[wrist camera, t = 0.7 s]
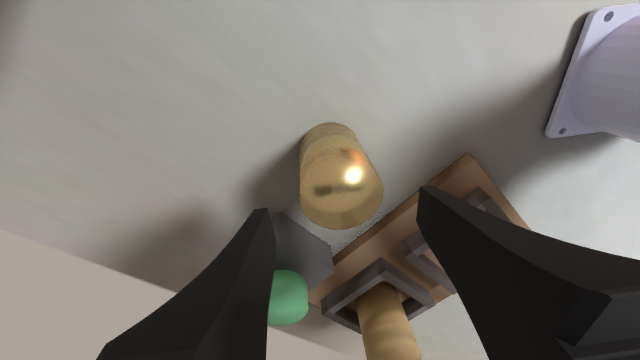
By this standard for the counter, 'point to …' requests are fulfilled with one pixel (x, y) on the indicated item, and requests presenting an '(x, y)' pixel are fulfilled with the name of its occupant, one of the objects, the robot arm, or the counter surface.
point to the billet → (337, 178)
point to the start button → (287, 298)
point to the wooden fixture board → (401, 268)
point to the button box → (301, 251)
